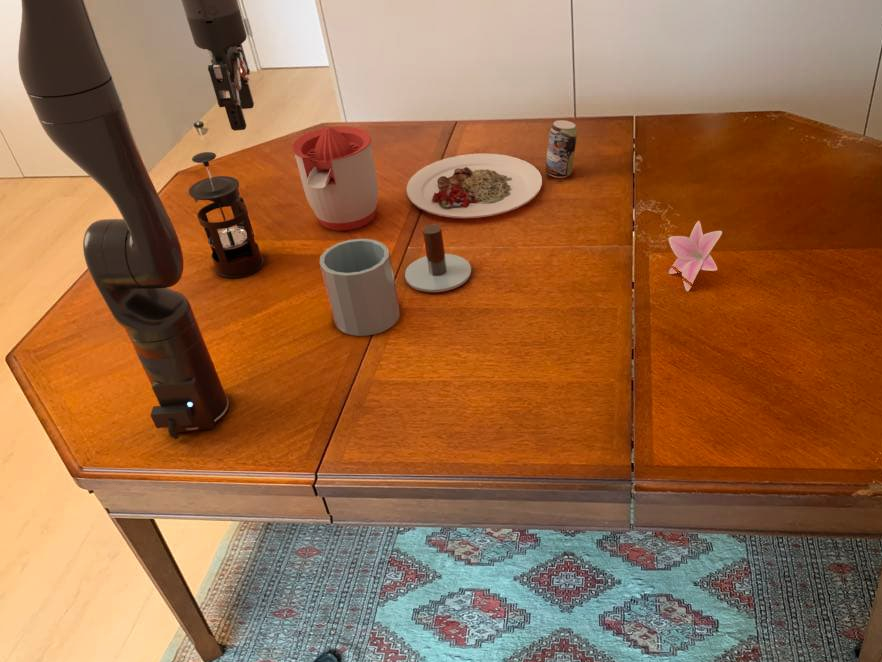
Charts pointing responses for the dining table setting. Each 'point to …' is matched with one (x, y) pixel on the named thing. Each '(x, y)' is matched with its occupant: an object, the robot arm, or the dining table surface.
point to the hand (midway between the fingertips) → (243, 118)
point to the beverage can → (561, 148)
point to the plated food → (474, 185)
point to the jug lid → (437, 265)
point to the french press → (226, 224)
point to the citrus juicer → (338, 176)
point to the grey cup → (360, 286)
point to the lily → (694, 253)
